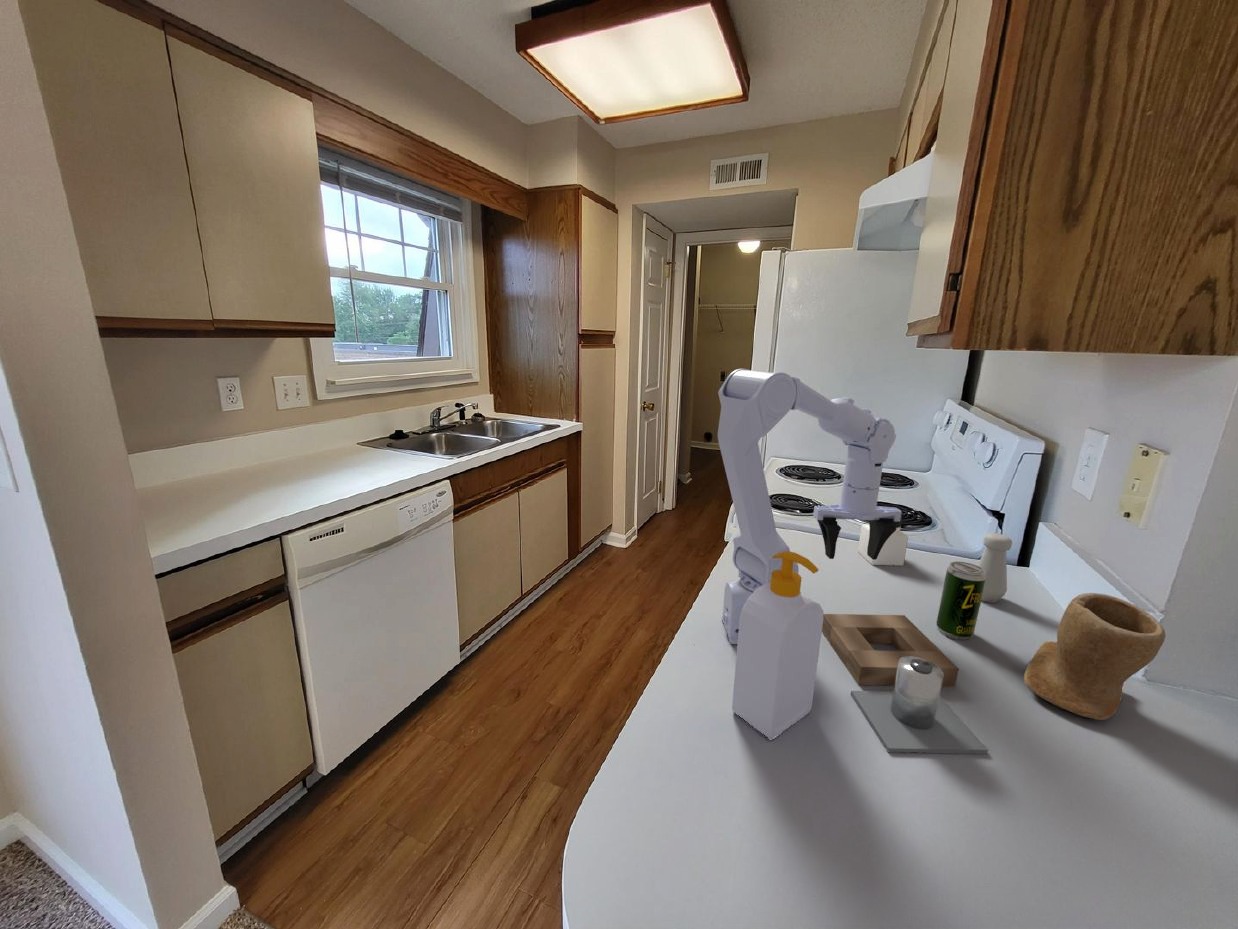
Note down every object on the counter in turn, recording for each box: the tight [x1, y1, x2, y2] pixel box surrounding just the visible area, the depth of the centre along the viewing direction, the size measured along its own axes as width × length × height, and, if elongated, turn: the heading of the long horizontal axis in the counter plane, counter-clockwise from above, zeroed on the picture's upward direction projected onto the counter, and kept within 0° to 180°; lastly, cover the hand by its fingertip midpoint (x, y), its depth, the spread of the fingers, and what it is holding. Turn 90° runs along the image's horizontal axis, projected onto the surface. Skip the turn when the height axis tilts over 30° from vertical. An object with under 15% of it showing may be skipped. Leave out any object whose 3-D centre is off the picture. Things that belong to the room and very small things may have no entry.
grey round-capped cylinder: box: [890, 656, 944, 729], centre depth 64 cm, size 5×5×8 cm
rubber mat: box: [850, 690, 989, 755], centre depth 64 cm, size 12×10×1 cm
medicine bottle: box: [857, 512, 909, 567], centre depth 111 cm, size 7×7×12 cm
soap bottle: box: [731, 550, 824, 740], centre depth 62 cm, size 9×7×23 cm
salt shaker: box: [977, 532, 1013, 604], centre depth 95 cm, size 6×6×13 cm
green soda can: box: [936, 561, 986, 641], centre depth 83 cm, size 5×5×12 cm
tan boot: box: [1023, 592, 1166, 721], centre depth 68 cm, size 15×12×15 cm
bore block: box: [822, 613, 960, 687], centre depth 77 cm, size 14×14×3 cm
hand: (850, 556), depth 89 cm, fingers open, 7 cm apart
